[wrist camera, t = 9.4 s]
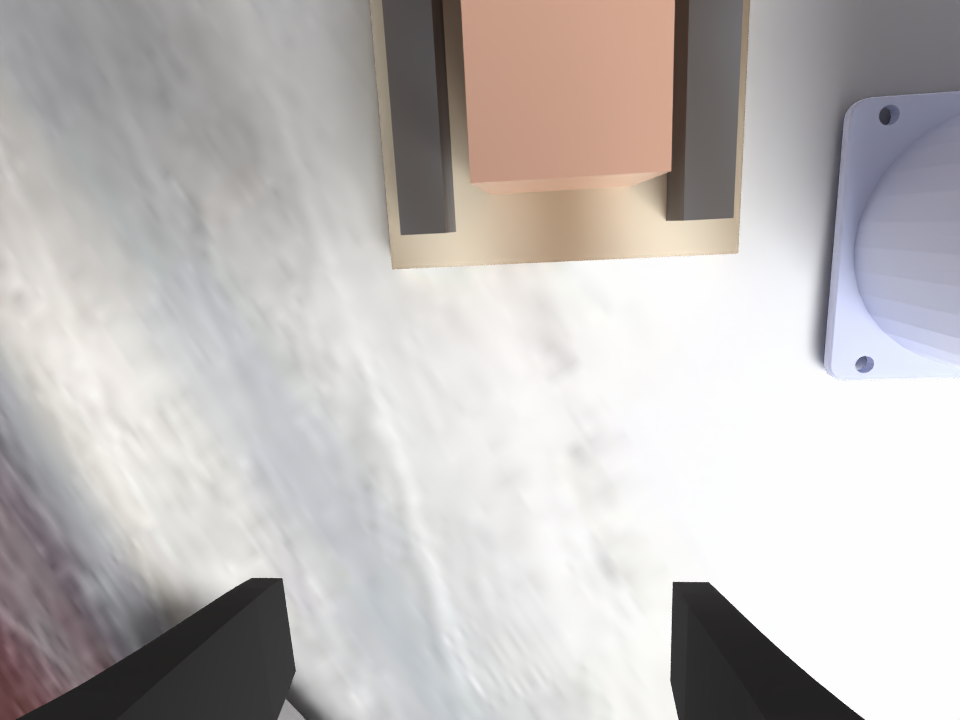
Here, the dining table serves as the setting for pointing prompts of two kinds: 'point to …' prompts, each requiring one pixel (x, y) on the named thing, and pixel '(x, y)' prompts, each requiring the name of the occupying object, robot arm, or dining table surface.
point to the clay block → (568, 93)
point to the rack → (566, 213)
